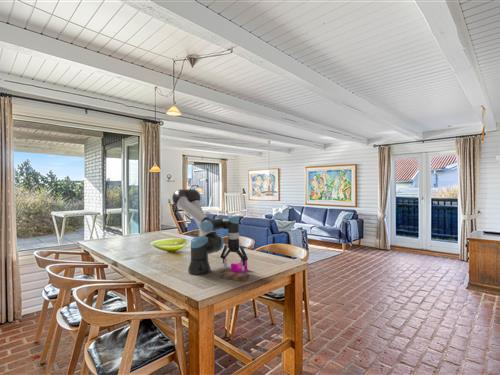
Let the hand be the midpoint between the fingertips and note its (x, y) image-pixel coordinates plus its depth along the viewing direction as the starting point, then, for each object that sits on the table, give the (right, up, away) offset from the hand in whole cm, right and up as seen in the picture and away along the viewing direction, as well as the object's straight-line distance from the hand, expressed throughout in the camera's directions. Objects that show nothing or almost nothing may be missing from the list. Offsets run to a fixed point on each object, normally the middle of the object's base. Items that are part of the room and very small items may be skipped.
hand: (234, 269), depth 189 cm
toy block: (+3, -2, -1) cm, 3 cm away
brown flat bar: (+1, -2, -13) cm, 13 cm away
